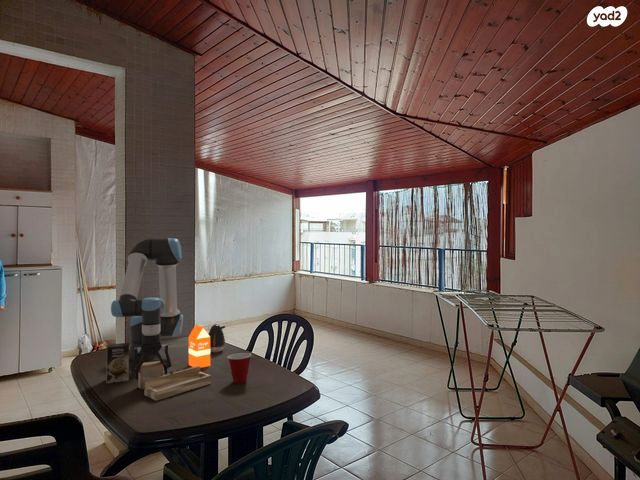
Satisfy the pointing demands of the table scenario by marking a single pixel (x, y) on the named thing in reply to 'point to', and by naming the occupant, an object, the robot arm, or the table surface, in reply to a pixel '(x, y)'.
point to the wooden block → (150, 371)
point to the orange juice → (199, 347)
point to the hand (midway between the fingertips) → (151, 385)
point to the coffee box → (117, 363)
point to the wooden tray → (175, 383)
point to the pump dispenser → (216, 338)
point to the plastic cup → (239, 366)
